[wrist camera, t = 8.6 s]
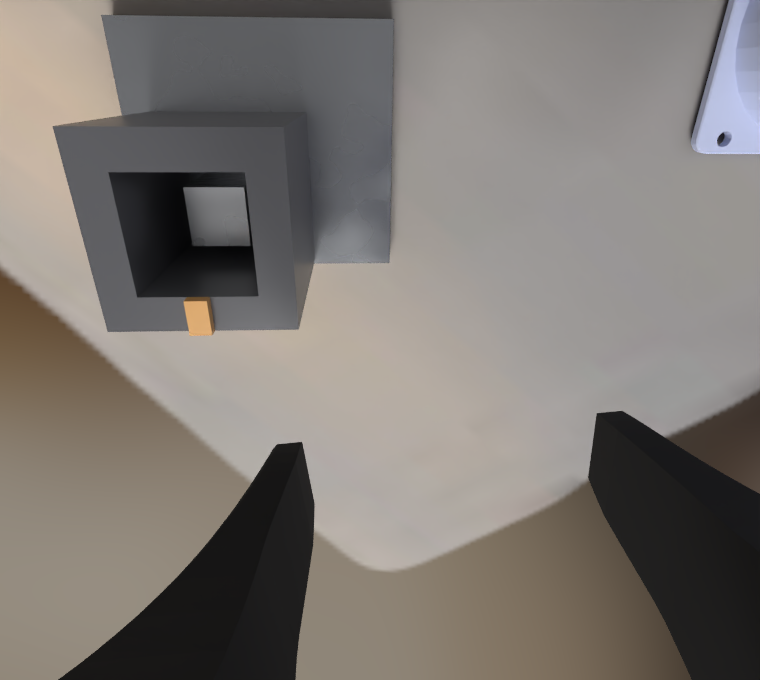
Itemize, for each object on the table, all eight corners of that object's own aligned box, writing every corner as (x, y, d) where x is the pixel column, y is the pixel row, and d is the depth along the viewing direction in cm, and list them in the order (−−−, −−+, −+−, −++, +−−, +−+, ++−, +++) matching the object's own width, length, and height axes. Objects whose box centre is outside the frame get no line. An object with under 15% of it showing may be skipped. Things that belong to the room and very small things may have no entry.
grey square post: (264, 167, 18) (244, 187, 15) (269, 217, 19) (250, 246, 16) (214, 167, 18) (183, 187, 15) (221, 217, 19) (192, 246, 16)
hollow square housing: (306, 112, 17) (281, 128, 11) (314, 260, 19) (297, 334, 14) (149, 111, 17) (45, 127, 11) (176, 261, 19) (102, 337, 14)
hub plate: (392, 21, 17) (393, 19, 16) (388, 256, 20) (389, 263, 20) (112, 17, 16) (101, 14, 15) (160, 257, 20) (152, 264, 19)
